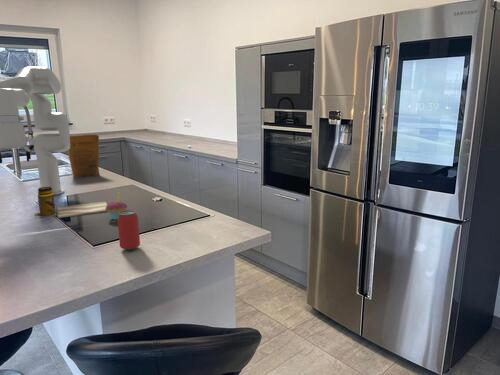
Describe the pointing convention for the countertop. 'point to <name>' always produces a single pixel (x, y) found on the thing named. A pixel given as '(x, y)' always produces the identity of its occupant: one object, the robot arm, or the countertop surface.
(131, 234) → the beer can
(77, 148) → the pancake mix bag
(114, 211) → the cupcake
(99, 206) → the cutting board
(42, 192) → the condiment
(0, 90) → the robot arm
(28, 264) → the countertop surface
